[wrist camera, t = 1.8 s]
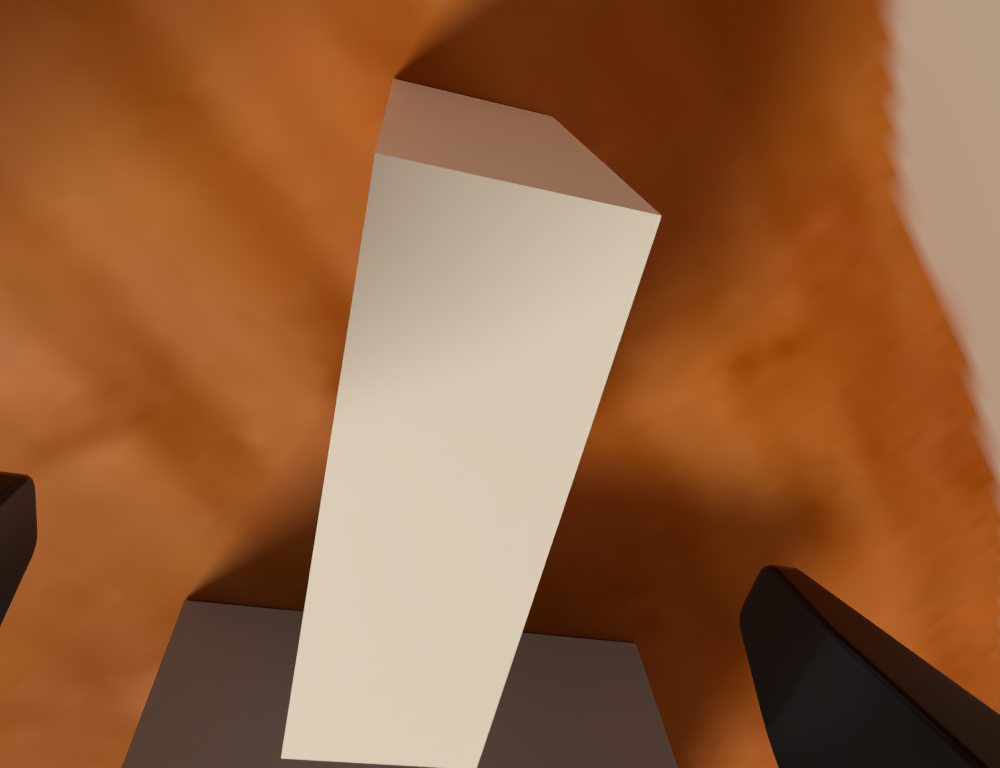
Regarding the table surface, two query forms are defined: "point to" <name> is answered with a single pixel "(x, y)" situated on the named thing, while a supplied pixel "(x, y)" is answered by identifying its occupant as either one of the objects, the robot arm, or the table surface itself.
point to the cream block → (456, 421)
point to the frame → (503, 764)
